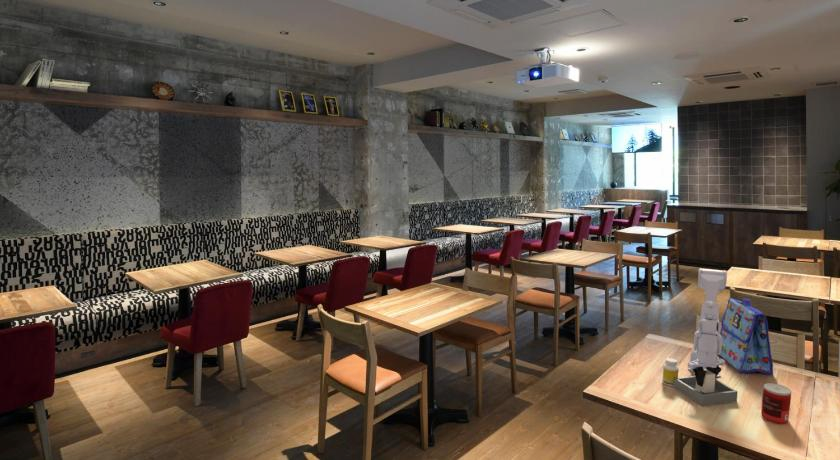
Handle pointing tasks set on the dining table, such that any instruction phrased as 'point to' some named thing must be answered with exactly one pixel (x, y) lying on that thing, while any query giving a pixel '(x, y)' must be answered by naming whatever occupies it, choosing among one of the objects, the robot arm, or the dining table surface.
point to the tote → (704, 399)
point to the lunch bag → (745, 338)
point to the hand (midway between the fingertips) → (704, 384)
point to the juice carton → (707, 382)
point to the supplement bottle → (670, 371)
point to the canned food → (776, 403)
